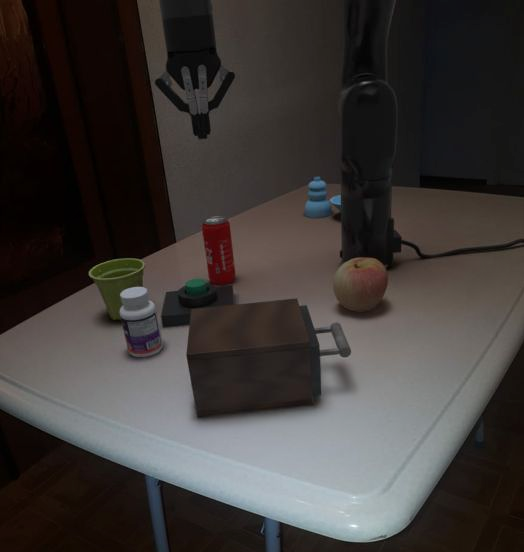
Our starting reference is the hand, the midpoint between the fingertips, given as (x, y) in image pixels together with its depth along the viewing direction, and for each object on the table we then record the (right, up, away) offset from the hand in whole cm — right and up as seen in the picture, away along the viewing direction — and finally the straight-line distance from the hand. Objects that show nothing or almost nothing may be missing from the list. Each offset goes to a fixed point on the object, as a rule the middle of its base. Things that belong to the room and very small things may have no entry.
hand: (203, 138), depth 91 cm
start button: (-2, -25, +4) cm, 25 cm away
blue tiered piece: (+29, -1, +49) cm, 56 cm away
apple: (+26, -27, +2) cm, 38 cm away
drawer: (+12, -38, -16) cm, 43 cm away
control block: (-1, -28, +6) cm, 28 cm away
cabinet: (+8, -39, -15) cm, 43 cm away
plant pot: (-14, -28, +8) cm, 33 cm away
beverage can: (+2, -21, +18) cm, 28 cm away
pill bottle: (-8, -35, -4) cm, 36 cm away
